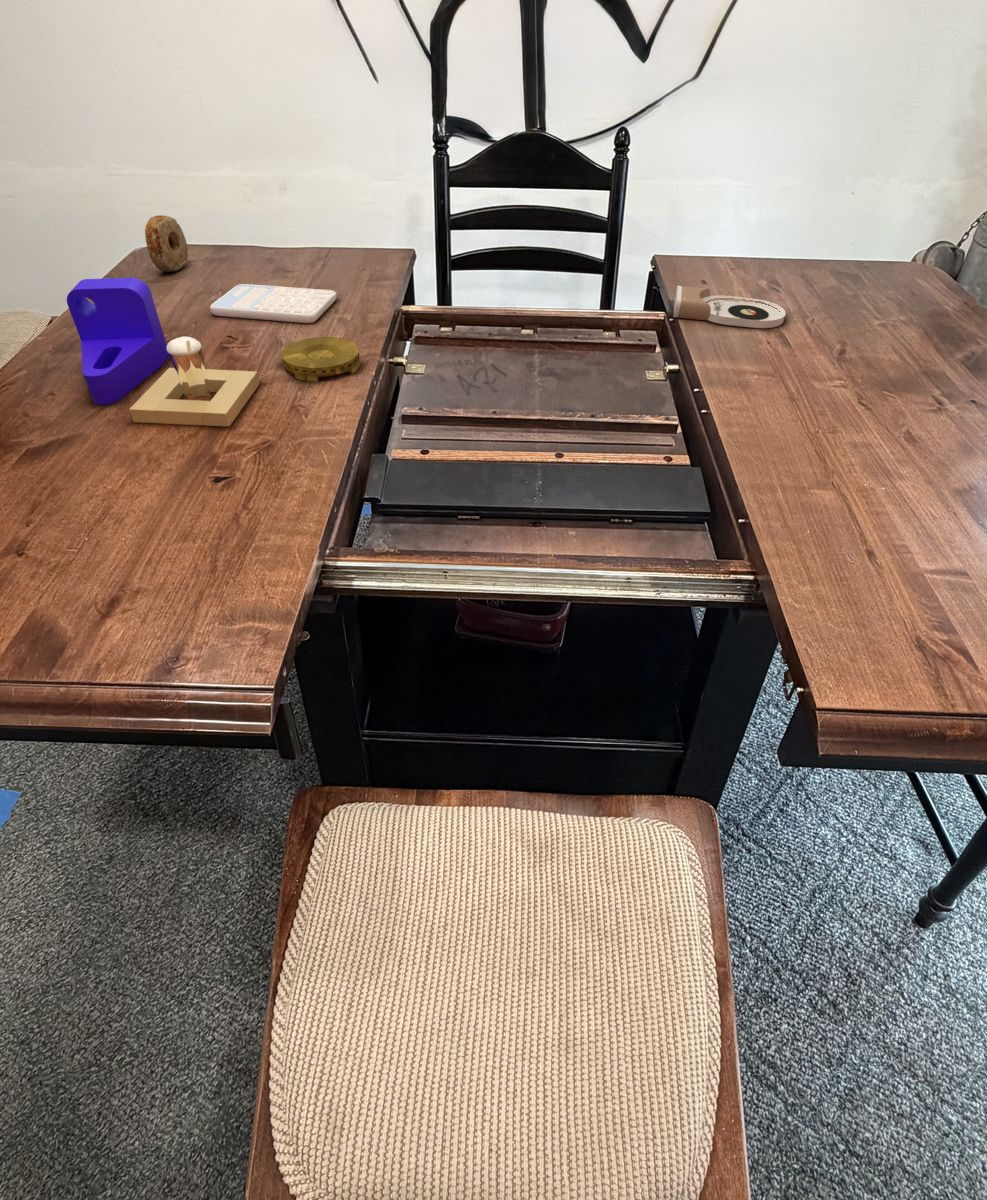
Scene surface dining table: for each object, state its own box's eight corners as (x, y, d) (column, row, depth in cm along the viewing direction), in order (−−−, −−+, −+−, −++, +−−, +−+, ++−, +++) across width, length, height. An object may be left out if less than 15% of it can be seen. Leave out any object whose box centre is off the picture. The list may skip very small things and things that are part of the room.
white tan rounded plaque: (677, 282, 136) (785, 292, 134) (674, 299, 138) (780, 309, 136) (676, 303, 128) (791, 315, 125) (673, 320, 130) (785, 332, 127)
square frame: (133, 422, 99) (128, 409, 97) (172, 379, 109) (169, 367, 107) (229, 426, 98) (226, 413, 97) (260, 383, 108) (257, 371, 107)
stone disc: (169, 278, 143) (154, 224, 137) (152, 276, 144) (136, 222, 137) (195, 262, 151) (182, 210, 144) (179, 261, 151) (165, 209, 145)
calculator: (314, 324, 126) (312, 313, 125) (208, 316, 128) (206, 305, 127) (339, 299, 136) (337, 288, 135) (240, 291, 138) (238, 281, 137)
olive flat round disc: (372, 371, 112) (371, 357, 111) (299, 387, 107) (297, 374, 106) (342, 344, 120) (341, 331, 118) (273, 359, 115) (271, 346, 113)
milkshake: (190, 413, 101) (170, 344, 94) (178, 399, 104) (158, 331, 97) (222, 405, 103) (204, 336, 96) (209, 391, 106) (191, 324, 99)
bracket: (99, 355, 115) (71, 279, 107) (169, 352, 116) (146, 277, 108) (64, 406, 102) (29, 324, 94) (143, 402, 103) (115, 321, 95)
